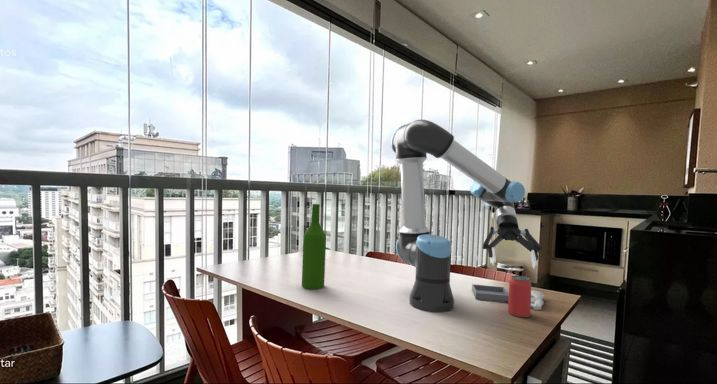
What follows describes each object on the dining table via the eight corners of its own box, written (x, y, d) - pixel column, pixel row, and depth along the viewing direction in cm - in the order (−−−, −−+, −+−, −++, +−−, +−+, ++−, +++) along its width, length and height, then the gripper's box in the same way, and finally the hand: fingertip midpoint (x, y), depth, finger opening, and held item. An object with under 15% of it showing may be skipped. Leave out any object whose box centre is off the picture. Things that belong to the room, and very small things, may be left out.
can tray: (475, 299, 126) (476, 292, 126) (471, 290, 137) (472, 284, 137) (510, 302, 123) (510, 295, 123) (503, 293, 135) (503, 287, 135)
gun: (516, 285, 135) (545, 290, 130) (516, 293, 135) (544, 299, 130) (510, 299, 119) (543, 305, 114) (510, 309, 119) (542, 315, 114)
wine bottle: (315, 281, 142) (318, 203, 142) (328, 286, 135) (331, 204, 135) (297, 285, 136) (300, 203, 136) (310, 290, 129) (313, 204, 129)
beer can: (534, 318, 108) (535, 280, 108) (513, 317, 108) (514, 279, 108) (524, 311, 115) (525, 275, 115) (504, 310, 115) (506, 274, 115)
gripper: (538, 228, 136) (550, 274, 121) (472, 224, 141) (476, 268, 126) (543, 215, 131) (556, 262, 116) (475, 212, 136) (479, 257, 121)
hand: (514, 265), depth 121 cm, fingers open, 13 cm apart
